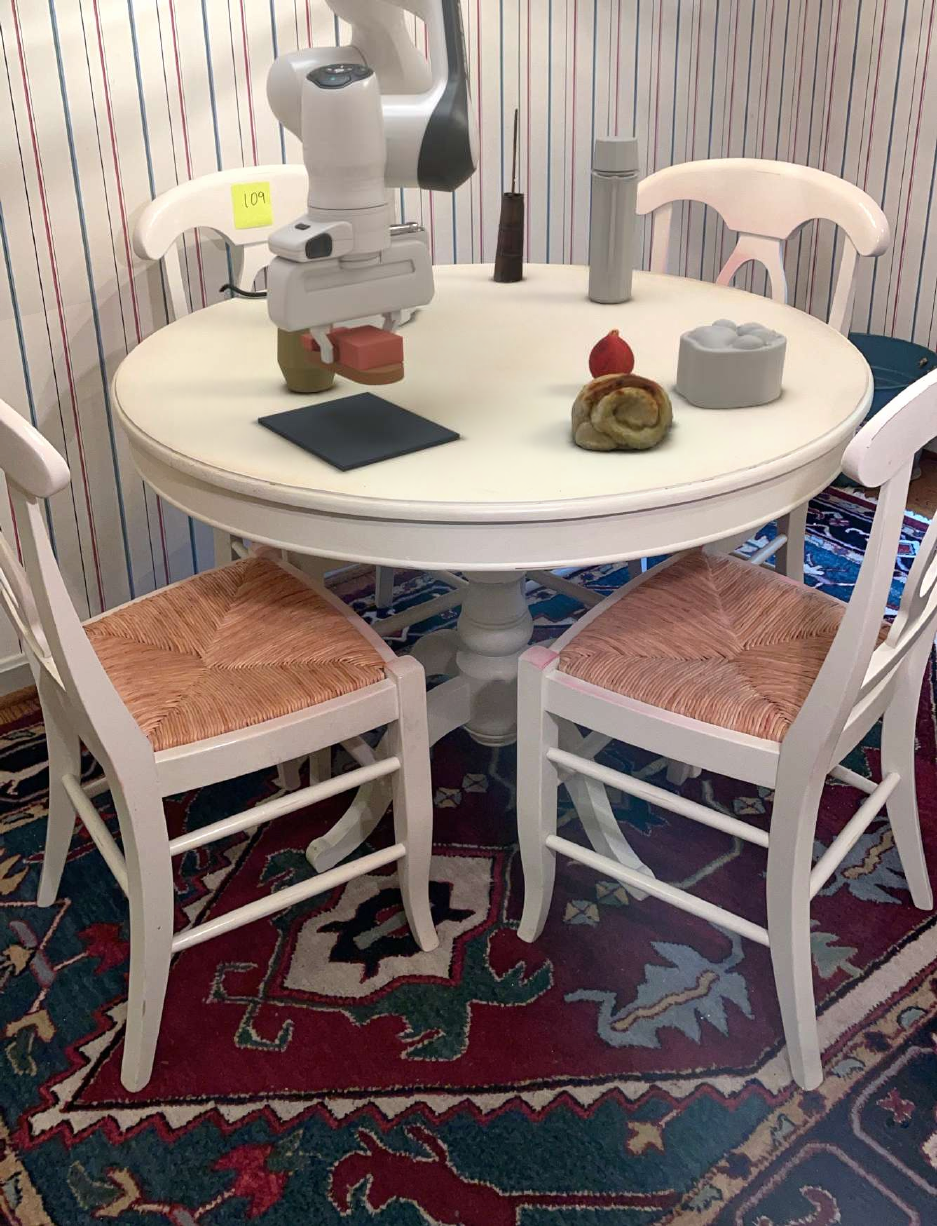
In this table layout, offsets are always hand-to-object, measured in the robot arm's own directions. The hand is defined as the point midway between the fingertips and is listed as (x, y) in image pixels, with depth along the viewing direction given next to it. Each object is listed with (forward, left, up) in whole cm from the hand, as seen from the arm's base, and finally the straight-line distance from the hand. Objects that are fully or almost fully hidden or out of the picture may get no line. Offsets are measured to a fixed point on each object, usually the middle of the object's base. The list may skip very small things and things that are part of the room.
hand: (358, 355), depth 128 cm
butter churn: (-49, +62, -10) cm, 80 cm away
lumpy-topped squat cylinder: (+18, +45, -10) cm, 49 cm away
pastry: (+20, +24, -10) cm, 33 cm away
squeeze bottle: (-19, +4, -10) cm, 22 cm away
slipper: (-1, 0, -2) cm, 2 cm away
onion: (+7, +34, -10) cm, 36 cm away
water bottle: (-27, +66, -10) cm, 72 cm away
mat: (-1, 0, -9) cm, 9 cm away
